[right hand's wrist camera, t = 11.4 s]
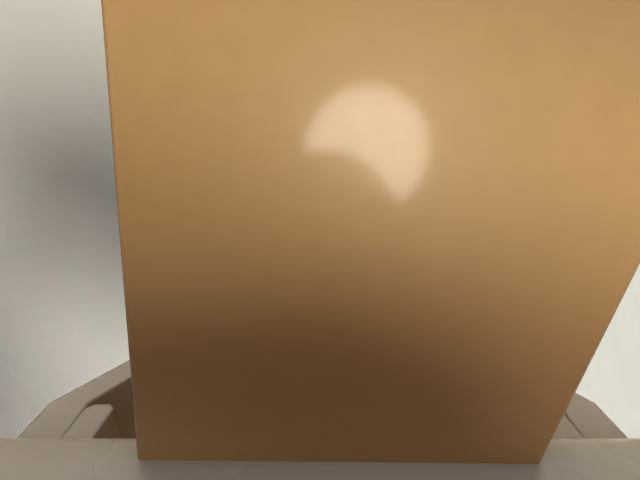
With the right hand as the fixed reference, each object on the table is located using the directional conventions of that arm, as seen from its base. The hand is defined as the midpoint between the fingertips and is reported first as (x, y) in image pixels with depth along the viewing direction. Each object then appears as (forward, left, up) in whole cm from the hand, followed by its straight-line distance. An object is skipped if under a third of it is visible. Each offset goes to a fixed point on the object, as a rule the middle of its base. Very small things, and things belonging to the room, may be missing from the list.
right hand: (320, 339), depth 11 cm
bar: (+3, +8, -4) cm, 9 cm away
